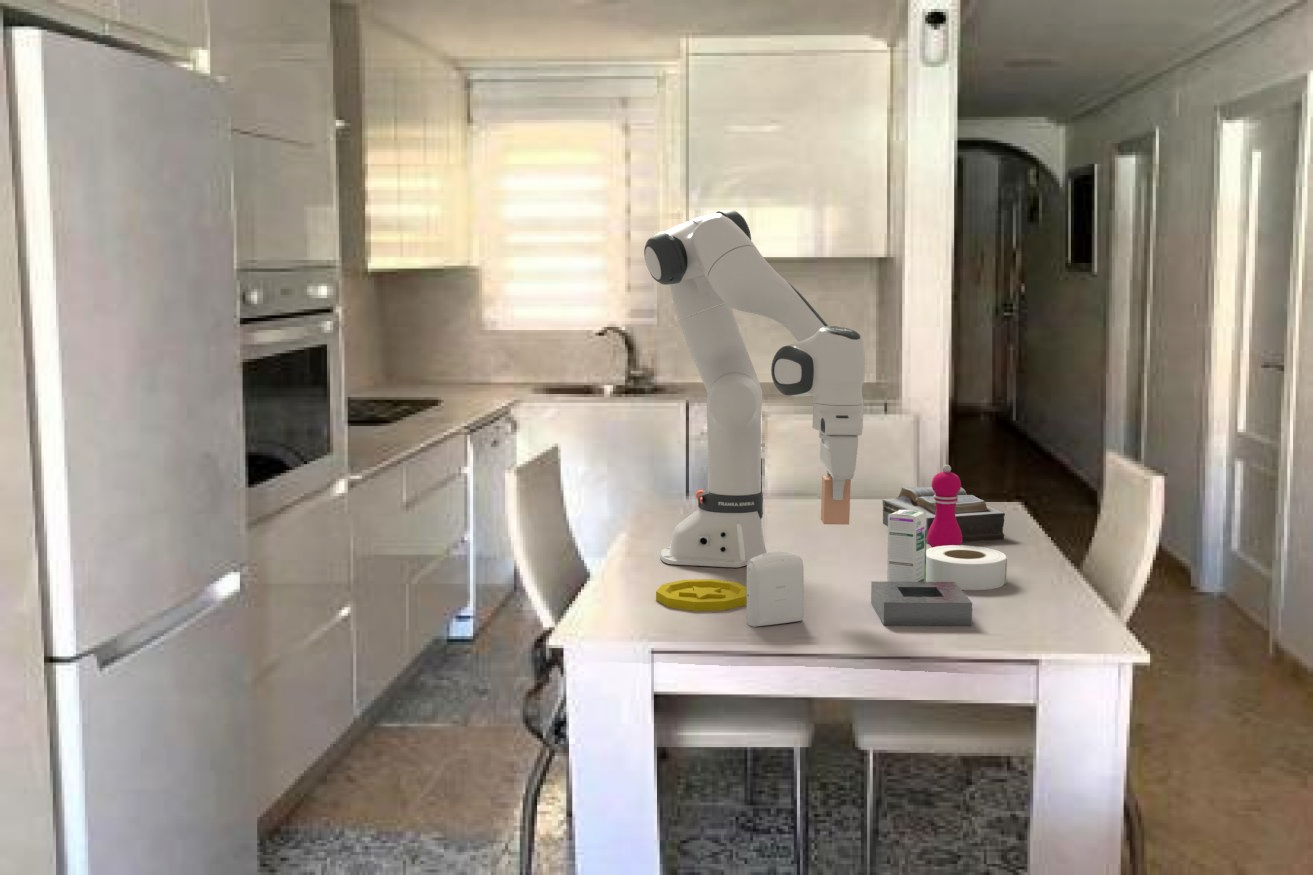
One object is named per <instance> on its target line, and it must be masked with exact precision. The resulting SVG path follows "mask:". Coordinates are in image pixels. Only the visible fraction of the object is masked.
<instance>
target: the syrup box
mask: <svg viewBox="0 0 1313 875" xmlns="http://www.w3.org/2000/svg"><path fill="white" fill-rule="evenodd" d="M926 550H927V543H926V512H923V511H917V510H898V511H897V512H894V513H892V514H889V515H888V526H887V581H886V582H926Z"/></svg>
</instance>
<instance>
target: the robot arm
mask: <svg viewBox="0 0 1313 875" xmlns="http://www.w3.org/2000/svg"><path fill="white" fill-rule="evenodd" d="M750 230H751V229H750V228H749V225H748V223H747V221H746V219H745V218H744V217H743V215H741V214H740V213H739V212H738V211H736V210H733V209H727V210H726V209H724V210H718V211H716V212H715V213H712V214H711V213H710V214H707V215H702V216H698V217H695V218H692V219H689V220H687V221H685V222H683V223H681V224H678V225H676V226H673V227H671V228H670V229H667V230H665V231H659V232H657V233H655V234H654V235H652V236H651V237H650V238H648V239H647V241H646V243H645V245H644V252H643V255H644V260H645V264H646V267H647V269H648V271H649V274H650V276H651V278H653V279H654V280H655V281H656V282H658V283H660V284H661V285H664V286H667V285H669V286H670V293H671V297H672V301H673V306H674V309H675V313H676V316H677V318H678V322H679V324H680V326H681V330H682V332H683V335H684V338H685V342H686V344H687V346H688V350H689V352H690V355H691V358H692V359H693V362H694V364H695V366H696V368H697V371H698V373H699V376H700V378H701V380H702V382H703V383H702V384H703V385H704V388H705V391H706V393H707V396H706V431H707V433H706V434H707V451H708V452H707V458H708V460H707V463H708V464H707V465H708V466H707V470H708V471H707V477H708V478H707V490H706V491H704V490H703V489H699V490H697V491H696V493H695V497H696V499H697V507H698V509H697V510H694V512H693V513H691V514H690V515H689V516H687V517H685V519H683V520H682V521H680V522H679V523H677V525H676V526H675V528H674V530H673V532H672V535H671V541H670V545H669V546H666V547H664V548H662V550H661V551H660V560H661V561H662V562H663V563H665V564H668V565H676V566H677V565H679V566H701V567H716V568H717V567H720V568H741V567H744V566H745V567H746V566H747V563H748V561H749V560H750V559H752V558H754V557H756V556H758V555H761V554H764V553H768V552H767V549H766V544H765V540H764V539H765V537H764V532H763V524H762V523H763V522H762V520H763V515H764V492H763V491H762V403H763V389H762V387H761V384H760V380H759V378H758V376H757V373H756V370H755V367H754V365H753V362H752V360H751V357H750V354H749V352H748V349H747V348H746V344H745V342H744V339H743V337H742V334H741V332H740V329H739V325H738V323H737V319H736V317H735V314H734V312H733V309H734V310H737V311H741V312H745V313H750V314H754V315H758V316H763V317H766V318H768V319H771V320H774V321H775V322H778V324H780V325H782V326H784V327H785V328H786V329H787V330H788V331H789V332H790V334H791V335H792V336H793V337H794V338H795V340H796V341H797V342H794V343H791V344H788V345H785V346H782V347H780V348H779V349H778V350H777V351H776V353H775V355H774V356H773V358H772V362H771V367H770V371H771V372H770V374H771V379H772V382H773V384H774V386H775V387H776V389H777V390H778V391H779V392H780V393H781V394H783V395H785V396H790V397H794V398H795V397H796V398H797V397H798V398H800V397H812V398H813V400H812V401H813V402H812V424H811V425H812V429H813V430H816V431H819V434H818V435H819V439H820V447H819V448H820V450H819V460H820V463H821V464H822V466H823V467H824V468H825V469H826V476H832V480H833V489H832V498H833V499H834V500H842V499H843V490H844V485H845V479H850V480H852V479H853V478H854V475H855V471H856V466H857V459H858V448H859V436H862V435H863V428H864V427H863V426H864V397H863V393H862V391H863V385H864V381H865V373H866V371H865V370H866V369H865V368H866V366H865V365H866V363H865V362H866V358H865V357H866V356H865V354H866V353H865V346H864V342H863V338H862V335H861V334H860V333H858V332H857V331H855V330H854V329H851V328H847V327H841V326H833V325H832V326H831V325H828V324H827V323H826V321H825V320H824V319H823V317H821V315H819V313H818V312H817V310H815V308H814V307H813V306H812V305H811V304H810V303H809V301H807V299H806V298H805V297H804V296H803V295H802V294H801V293H800V292H799V291H798V289H796V288H795V287H794V286H792V284H790V282H788V281H787V280H786V279H785V278H784V277H783V276H781V275H780V274H779V273H778V272H777V271H776V270H775V269H774V268H773V267H772V265H770V263H769V262H768V261H767V260H766V258H764V256H763V255H762V253H761V252H760V251H759V249H758V248H757V246H756V245H755V244H754V243H753V241H752V236H751V232H750Z"/></svg>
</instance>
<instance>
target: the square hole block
mask: <svg viewBox="0 0 1313 875" xmlns="http://www.w3.org/2000/svg"><path fill="white" fill-rule="evenodd" d="M870 583H871V592H870V603H871V605H872V607H873V609H874V611H875V613H876V614H877V616H878V618H879V620H880V622H881V623H882V626H940V627H941V626H949V627H950V626H951V627H952V626H953V627H954V626H956V627H957V626H958V627H959V626H960V627H962V626H963V627H964V626H965V627H966V626H968V627H971V626H972V624H973V622H972V621H973V620H972V619H973V618H972V617H973V602H972V601H971V600H970V599H969V598H968V596H967V595H966V594H965V592H964V591H962V590H961V589H960V588H959V587H958V586H957V585H956V583H955V582H887V581H877V580H876V581H871V582H870Z"/></svg>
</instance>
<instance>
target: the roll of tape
mask: <svg viewBox="0 0 1313 875" xmlns="http://www.w3.org/2000/svg"><path fill="white" fill-rule="evenodd" d="M1007 572H1008V558H1007V555H1006V554H1005V553H1003V552H1002V551H999V550H998V549H993V548H990V547H984V546H977V545H963V544H961V545H948V546H937V547H933V548H932V547H930V548H926V582H955V583H956V585H957V586H958V587H959V588H960V589H961V590H963V591H986V590H994V589H997V588H1001V587H1003V586H1005V585H1007V580H1008V579H1007V574H1008V573H1007Z"/></svg>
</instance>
